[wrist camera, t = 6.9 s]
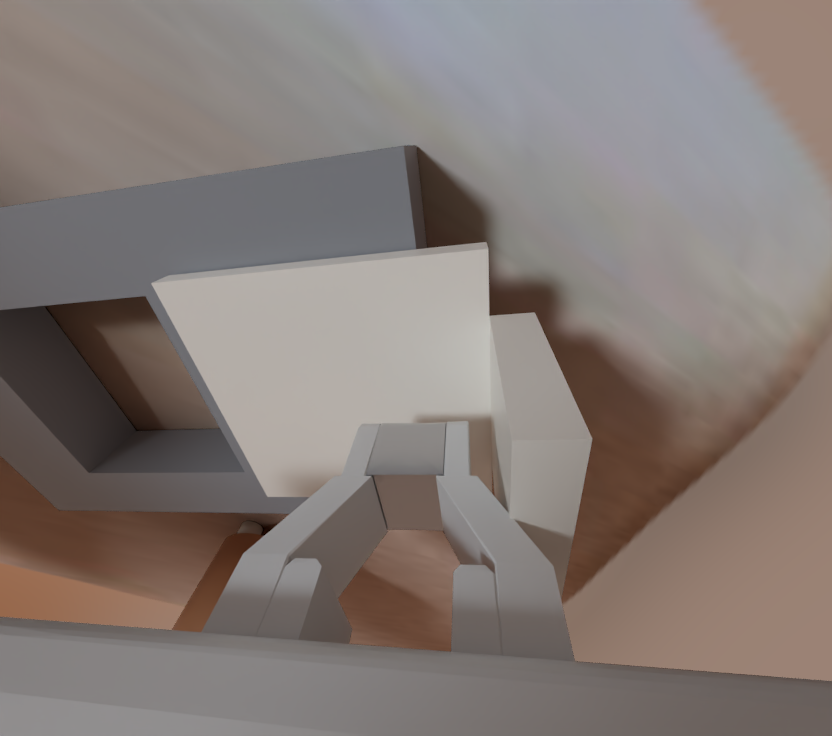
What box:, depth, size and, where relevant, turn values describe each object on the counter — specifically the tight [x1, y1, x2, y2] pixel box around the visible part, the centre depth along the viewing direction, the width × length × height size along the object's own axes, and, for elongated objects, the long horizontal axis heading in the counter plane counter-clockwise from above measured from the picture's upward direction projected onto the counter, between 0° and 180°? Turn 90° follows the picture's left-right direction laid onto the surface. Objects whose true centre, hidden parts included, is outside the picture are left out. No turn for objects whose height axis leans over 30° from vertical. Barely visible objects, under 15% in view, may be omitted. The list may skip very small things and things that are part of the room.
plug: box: [172, 521, 263, 632], centre depth 15 cm, size 5×5×12 cm
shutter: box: [151, 242, 592, 599], centre depth 8 cm, size 9×8×5 cm
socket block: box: [0, 146, 427, 514], centre depth 13 cm, size 18×12×2 cm, turn 97°
